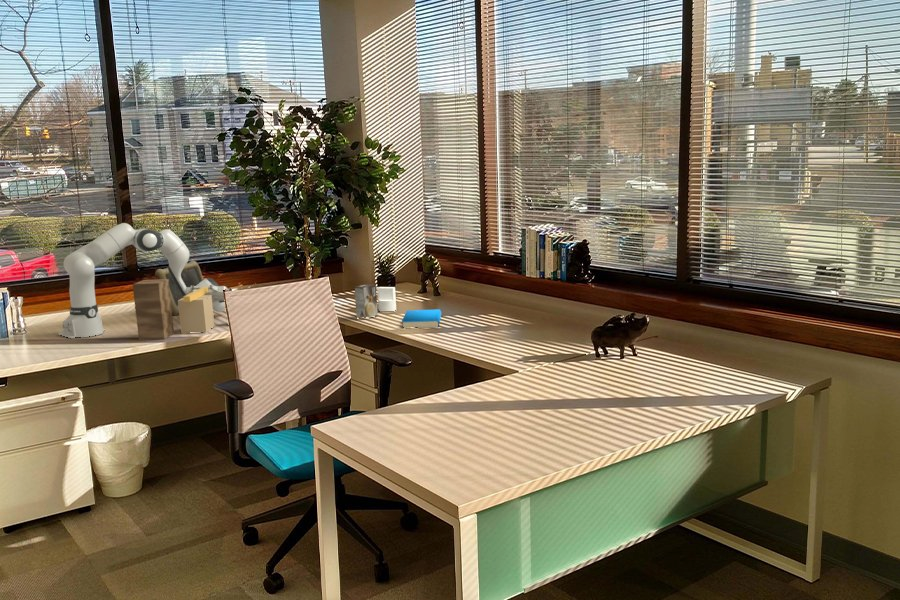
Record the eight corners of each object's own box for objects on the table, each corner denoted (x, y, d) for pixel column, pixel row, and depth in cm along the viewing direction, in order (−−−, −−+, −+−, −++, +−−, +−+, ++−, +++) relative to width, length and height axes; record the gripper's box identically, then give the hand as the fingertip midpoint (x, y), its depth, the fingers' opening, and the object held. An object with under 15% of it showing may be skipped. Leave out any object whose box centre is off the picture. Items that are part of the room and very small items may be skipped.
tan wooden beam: (203, 291, 415) (202, 287, 414) (209, 291, 414) (208, 286, 414) (183, 301, 389) (183, 296, 389) (190, 301, 389) (189, 296, 388)
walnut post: (149, 334, 399) (143, 280, 394) (174, 333, 398) (168, 279, 394) (138, 340, 387) (132, 284, 383) (164, 339, 387) (158, 283, 382)
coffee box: (368, 315, 421) (366, 283, 418) (378, 316, 417) (376, 284, 414) (356, 318, 414) (353, 286, 411) (365, 320, 410) (363, 287, 407)
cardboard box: (190, 328, 408) (186, 295, 406) (214, 327, 408) (211, 295, 405) (181, 333, 397) (177, 300, 394) (206, 333, 396) (202, 299, 393)
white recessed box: (376, 312, 428) (374, 289, 426) (383, 308, 436) (381, 285, 434) (392, 312, 425) (391, 289, 423) (399, 309, 433) (397, 286, 431)
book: (402, 321, 386) (405, 309, 411) (402, 330, 387) (406, 318, 412) (439, 319, 386) (440, 308, 410) (439, 329, 387) (441, 317, 411)
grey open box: (180, 316, 439) (175, 269, 434) (157, 316, 443) (152, 269, 438) (213, 304, 470) (208, 260, 465) (191, 304, 474) (186, 260, 469)
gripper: (191, 290, 423) (181, 281, 410) (231, 289, 422) (222, 279, 409) (190, 302, 421) (180, 293, 408) (230, 301, 420) (221, 291, 407)
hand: (201, 286), depth 409 cm, fingers open, 8 cm apart
